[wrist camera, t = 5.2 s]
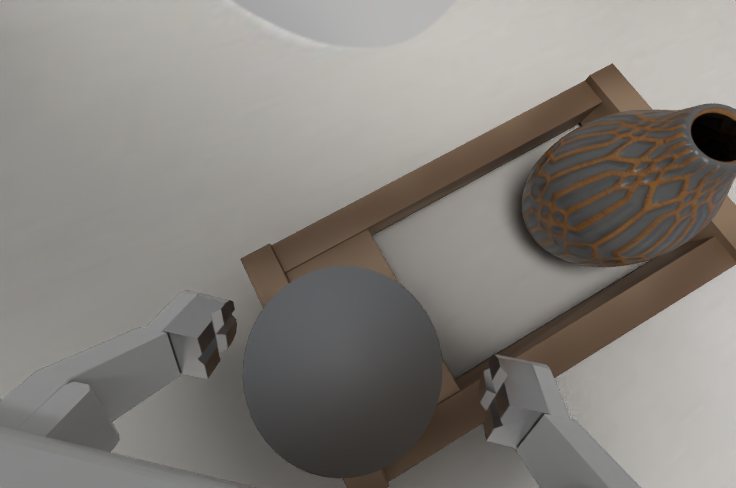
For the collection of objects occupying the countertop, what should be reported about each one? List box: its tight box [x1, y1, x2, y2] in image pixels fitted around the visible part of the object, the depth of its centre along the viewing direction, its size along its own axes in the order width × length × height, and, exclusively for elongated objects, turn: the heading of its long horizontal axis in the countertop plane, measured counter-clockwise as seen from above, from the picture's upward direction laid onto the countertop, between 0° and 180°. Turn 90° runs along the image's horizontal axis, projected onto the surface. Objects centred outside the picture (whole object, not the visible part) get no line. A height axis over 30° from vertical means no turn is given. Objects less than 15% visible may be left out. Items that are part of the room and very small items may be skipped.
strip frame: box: [241, 63, 736, 488], centre depth 12 cm, size 12×23×12 cm, turn 119°
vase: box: [522, 104, 736, 267], centre depth 14 cm, size 7×7×9 cm
